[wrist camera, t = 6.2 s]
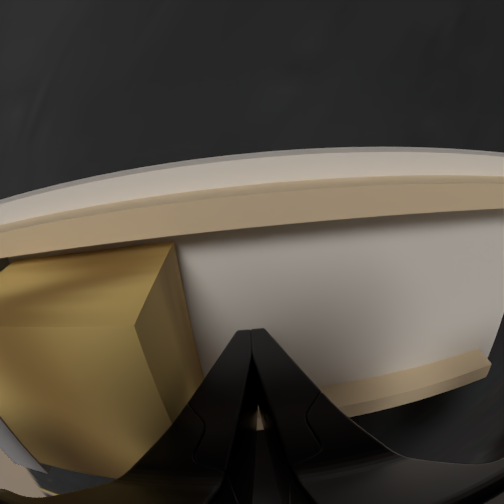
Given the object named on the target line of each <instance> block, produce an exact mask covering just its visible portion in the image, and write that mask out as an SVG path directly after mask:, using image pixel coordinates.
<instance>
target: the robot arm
mask: <svg viewBox="0 0 504 504" xmlns="http://www.w3.org/2000/svg"><path fill="white" fill-rule="evenodd" d="M258 408H259V412H260V416H261V420H262V425H263V429H264V433H265V437H266V441H267V445H268V449H269V453H270V457H271V461H272V465H273V469H274V473H275V477H276V481H277V485H278V489H279V492H280V496H281V500H282V504H504V458H502V459H500V460H498V461H495V462H491V463H486V464H475V465H471V464H456V463H445V462H435V461H426V460H418V459H412V458H408V457H404V456H402V455H400V454H398V453H396V452H394V451H392V450H391V449H389V448H388V447H386V446H385V445H384V444H382V443H381V442H380V441H378V440H377V439H376V438H374V437H373V436H372V435H370V434H369V433H368V432H367V431H365V430H364V429H363V428H361V427H360V426H359V425H357V424H356V423H355V422H354V421H352V420H351V419H350V418H349V417H348V416H346V415H345V414H344V413H343V412H342V411H341V410H340V409H339V408H338V407H337V406H336V405H335V404H334V403H333V402H331V401H330V399H329V398H328V397H327V396H326V395H325V394H324V393H322V391H321V390H320V389H319V388H318V387H317V386H316V385H315V383H314V382H313V381H312V380H311V379H310V378H309V377H308V376H307V375H306V374H305V373H304V371H303V370H302V369H301V368H300V367H299V366H298V365H297V364H296V363H295V362H294V360H293V359H292V358H291V357H290V356H289V355H288V354H287V353H286V352H285V351H284V349H283V348H282V347H281V346H280V345H279V344H278V343H277V342H276V340H275V339H274V338H273V337H272V336H271V335H270V334H269V333H268V331H267V330H266V329H265V328H257V329H251V330H250V329H246V330H238V331H236V332H235V334H234V335H233V337H232V338H231V340H230V341H229V343H228V344H227V346H226V347H225V349H224V350H223V352H222V353H221V355H220V356H219V358H218V359H217V361H216V362H215V364H214V365H213V367H212V368H211V369H210V371H209V372H208V374H207V375H206V377H205V378H204V380H203V381H202V383H201V384H200V386H199V387H198V388H197V390H196V391H195V393H194V394H193V396H192V397H191V398H190V400H189V401H188V403H187V405H185V407H184V408H183V410H182V411H181V413H180V414H179V415H178V417H177V418H176V419H175V421H174V422H173V423H172V425H171V426H170V427H169V428H168V429H167V430H166V432H165V433H164V434H163V435H162V436H161V437H160V438H159V439H158V441H157V442H156V443H155V444H154V445H153V446H152V447H151V448H150V449H149V450H148V451H147V452H146V453H145V454H144V455H143V456H142V457H141V458H140V459H139V460H138V461H137V462H136V463H135V464H134V465H133V466H132V467H131V468H130V469H129V470H128V471H127V472H126V473H125V474H123V475H122V476H121V477H119V478H117V479H116V480H114V481H112V482H109V483H106V484H102V485H98V486H95V487H91V488H87V489H83V490H79V491H74V492H70V493H65V494H60V495H56V496H50V497H43V498H32V497H25V496H21V495H18V494H15V493H13V492H10V491H8V490H5V489H0V504H252V497H253V481H254V466H255V449H256V433H257V415H258Z"/></svg>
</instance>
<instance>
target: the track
mask: <svg viewBox="0 0 504 504" xmlns="http://www.w3.org/2000/svg"><path fill="white" fill-rule="evenodd" d="M173 241H174V245H175V250H176V255H177V260H178V266H179V271H180V275H181V280H182V285H183V290H184V295H185V299H186V304H187V308H188V313H189V317H190V322H191V326H192V330H193V334H194V339H195V343H196V347H197V351H198V355H199V359H200V363H201V367H202V371H203V375H204V378H205V377H206V375H207V374H208V372H209V371H210V369H211V368H212V367H213V365H214V364H215V362H216V361H217V359H218V358H219V356H220V355H221V353H222V352H223V350H224V349H225V347H226V346H227V344H228V343H229V341H230V340H231V338H232V337H233V335H234V334H235V332H236V331H238V330H246V329H250V330H251V329H257V328H265V329H266V330H267V331H268V333H269V334H270V335H271V336H272V337H273V338H274V339H275V340H276V342H277V343H278V344H279V345H280V346H281V347H282V348H283V349H284V351H285V352H286V353H287V354H288V355H289V356H290V357H291V358H292V359H293V360H294V362H295V363H296V364H297V365H298V366H299V367H300V368H301V369H302V370H303V371H304V373H305V374H306V375H307V376H308V377H309V378H310V379H311V380H312V381H313V382H314V383H315V385H316V386H317V387H318V388H319V389H320V390H321V391H322V393H324V394H325V395H326V396H327V397H328V398H329V399H330V401H331V402H333V403H334V404H335V405H336V406H337V407H338V408H339V409H340V410H341V411H342V412H343V413H344V414H345V415H346V416H348V417H353V416H358V415H363V414H367V413H372V412H376V411H380V410H384V409H388V408H392V407H396V406H400V405H404V404H407V403H411V402H414V401H418V400H421V399H425V398H428V397H431V396H434V395H437V394H440V393H444V392H447V391H450V390H452V389H455V388H458V387H461V386H464V385H466V384H469V383H472V382H474V381H477V380H480V379H482V378H485V377H486V376H487V374H488V371H489V369H490V367H491V365H492V364H491V363H490V361H489V360H488V359H487V358H488V355H489V353H490V350H491V348H492V345H493V342H494V340H495V337H496V334H497V331H498V328H499V326H500V323H501V320H502V317H503V313H504V153H500V152H490V151H478V150H464V149H447V148H423V147H342V148H316V149H298V150H283V151H270V152H258V153H247V154H237V155H227V156H219V157H210V158H202V159H194V160H187V161H180V162H173V163H166V164H160V165H153V166H147V167H141V168H136V169H130V170H125V171H119V172H114V173H109V174H104V175H99V176H94V177H89V178H84V179H80V180H75V181H71V182H66V183H62V184H58V185H54V186H50V187H46V188H42V189H38V190H34V191H30V192H26V193H23V194H19V195H15V196H12V197H8V198H5V199H1V200H0V272H1V271H2V270H4V269H5V268H6V267H7V266H8V265H10V264H11V263H12V262H13V261H16V260H24V259H32V258H39V257H47V256H55V255H63V254H70V253H79V252H87V251H95V250H103V249H112V248H120V247H129V246H137V245H146V244H155V243H164V242H173ZM257 430H264V429H263V425H262V420H261V416H260V412H259V408H258V415H257ZM0 448H1V449H2V451H3V452H4V453H5V454H6V455H7V456H8V457H9V458H10V459H11V460H12V461H13V462H14V463H15V464H18V465H21V466H24V467H27V468H31V469H34V470H37V471H41V472H44V473H48V474H49V471H50V468H51V465H47V464H43V463H40V462H38V461H37V459H36V458H35V457H34V456H33V455H32V454H31V453H30V452H29V451H28V449H27V448H26V447H25V446H24V445H23V444H22V443H21V441H20V440H19V439H18V438H17V437H16V435H15V434H14V433H13V432H12V430H11V429H10V428H9V427H8V425H7V424H6V423H5V422H4V420H3V419H2V418H1V416H0Z"/></svg>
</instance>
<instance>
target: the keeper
mask: <svg viewBox="0 0 504 504" xmlns="http://www.w3.org/2000/svg"><path fill="white" fill-rule="evenodd" d="M203 380H204V375H203V371H202V367H201V363H200V359H199V355H198V351H197V347H196V343H195V339H194V334H193V330H192V326H191V322H190V317H189V313H188V308H187V304H186V299H185V295H184V290H183V285H182V280H181V275H180V271H179V266H178V260H177V255H176V250H175V245H174V241H173V242H164V243H155V244H146V245H137V246H129V247H120V248H112V249H103V250H95V251H87V252H79V253H70V254H63V255H55V256H47V257H39V258H32V259H24V260H16V261H13V262H12V263H11V264H10V265H8V266H7V267H6V268H5V269H4V270H2V271H1V272H0V416H1V418H2V419H3V420H4V422H5V423H6V424H7V425H8V427H9V428H10V429H11V430H12V432H13V433H14V434H15V435H16V437H17V438H18V439H19V440H20V441H21V443H22V444H23V445H24V446H25V447H26V448H27V449H28V451H29V452H30V453H31V454H32V455H33V456H34V457H35V458H36V459H37V461H38V462H40V463H43V464H47V465H51V466H55V467H59V468H63V469H67V470H72V471H77V472H82V473H87V474H92V475H98V476H104V477H110V478H119V477H121V476H122V475H123V474H125V473H126V472H127V471H128V470H129V469H130V468H131V467H132V466H133V465H134V464H135V463H136V462H137V461H138V460H139V459H140V458H141V457H142V456H143V455H144V454H145V453H146V452H147V451H148V450H149V449H150V448H151V447H152V446H153V445H154V444H155V443H156V442H157V441H158V439H159V438H160V437H161V436H162V435H163V434H164V433H165V432H166V430H167V429H168V428H169V427H170V426H171V425H172V423H173V422H174V421H175V419H176V418H177V417H178V415H179V414H180V413H181V411H182V410H183V408H184V407H185V405H187V403H188V401H189V400H190V398H191V397H192V396H193V394H194V393H195V391H196V390H197V388H198V387H199V386H200V384H201V383H202V381H203Z"/></svg>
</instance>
